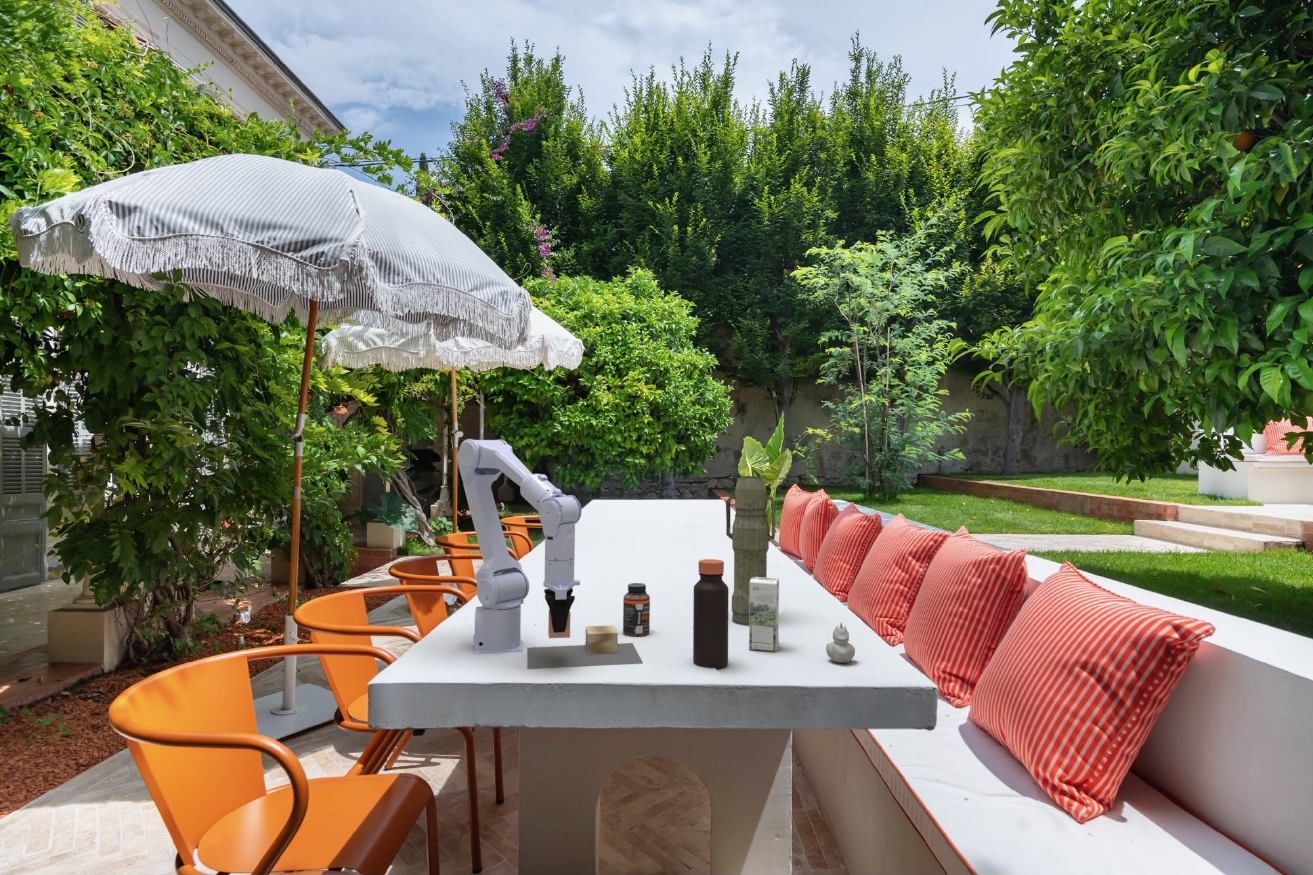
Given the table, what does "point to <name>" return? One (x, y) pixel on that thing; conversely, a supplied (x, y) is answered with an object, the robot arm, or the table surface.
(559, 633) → the terracotta block
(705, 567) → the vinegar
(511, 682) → the table surface
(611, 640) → the oak block
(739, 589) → the thermos
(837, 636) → the rubber duck
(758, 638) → the syrup box
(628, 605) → the supplement bottle
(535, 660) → the mat
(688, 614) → the table surface
